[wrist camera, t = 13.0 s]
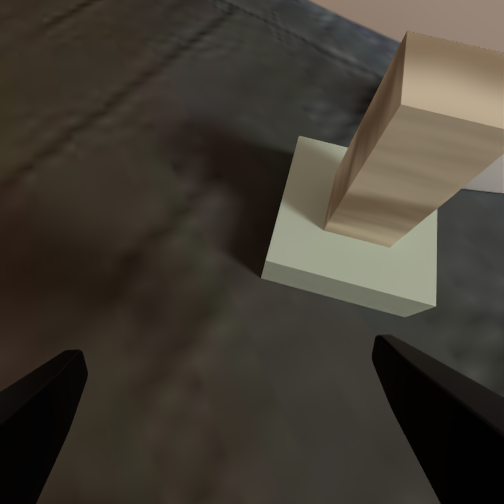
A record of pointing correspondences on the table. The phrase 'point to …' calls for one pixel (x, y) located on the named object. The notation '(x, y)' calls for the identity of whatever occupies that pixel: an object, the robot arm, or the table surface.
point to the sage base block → (345, 245)
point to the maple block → (419, 138)
